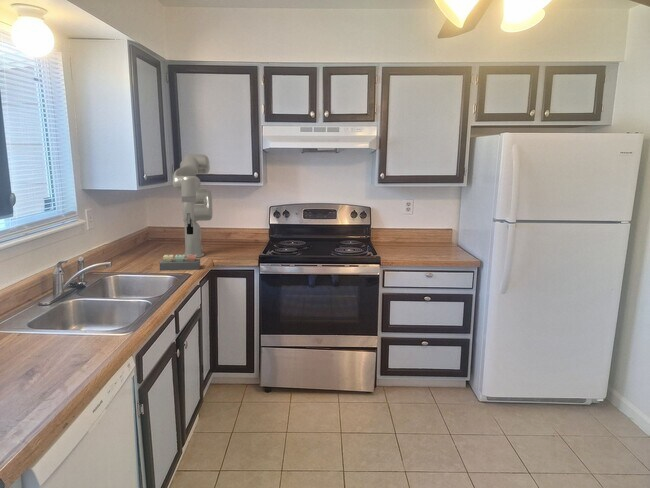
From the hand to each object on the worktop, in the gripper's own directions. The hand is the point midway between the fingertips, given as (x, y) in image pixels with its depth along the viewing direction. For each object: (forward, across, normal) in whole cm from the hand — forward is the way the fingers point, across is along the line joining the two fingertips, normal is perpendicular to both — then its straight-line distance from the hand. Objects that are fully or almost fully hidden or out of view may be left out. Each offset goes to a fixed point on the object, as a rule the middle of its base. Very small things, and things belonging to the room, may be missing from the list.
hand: (190, 234), depth 228 cm
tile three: (+17, -1, +1) cm, 17 cm away
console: (+19, -1, -6) cm, 20 cm away
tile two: (+17, -1, -5) cm, 18 cm away
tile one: (+17, 0, -11) cm, 20 cm away
